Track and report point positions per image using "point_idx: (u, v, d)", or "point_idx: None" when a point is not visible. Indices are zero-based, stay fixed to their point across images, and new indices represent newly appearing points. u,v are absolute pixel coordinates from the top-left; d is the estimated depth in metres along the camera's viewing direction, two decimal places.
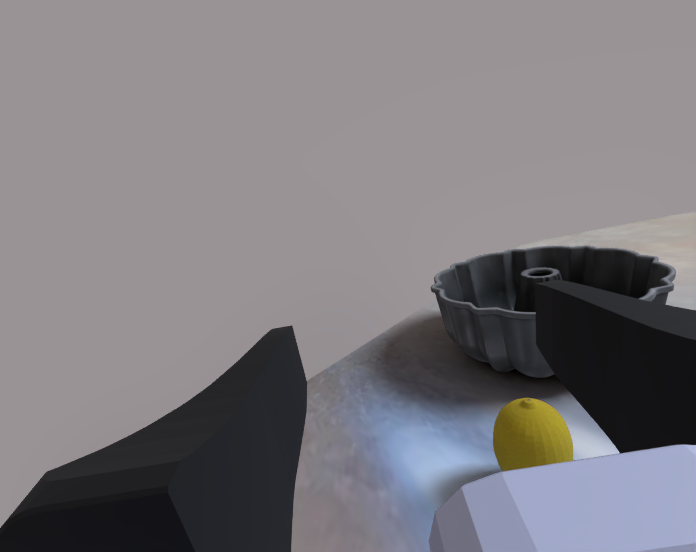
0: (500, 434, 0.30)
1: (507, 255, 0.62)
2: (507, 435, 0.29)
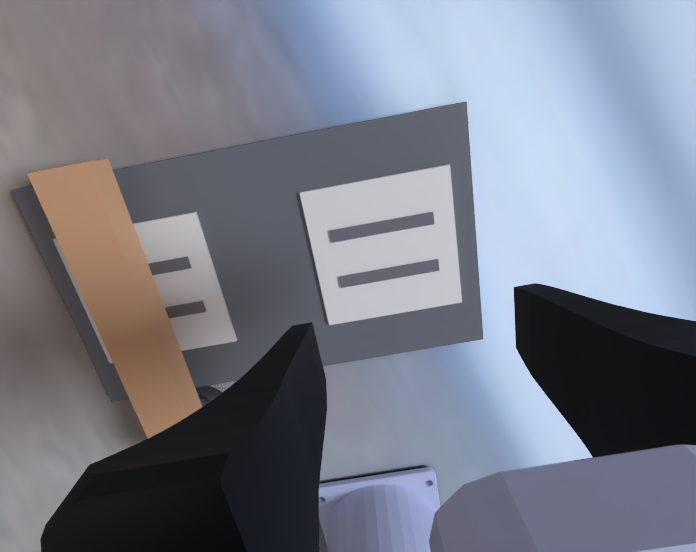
0: None
1: None
2: None
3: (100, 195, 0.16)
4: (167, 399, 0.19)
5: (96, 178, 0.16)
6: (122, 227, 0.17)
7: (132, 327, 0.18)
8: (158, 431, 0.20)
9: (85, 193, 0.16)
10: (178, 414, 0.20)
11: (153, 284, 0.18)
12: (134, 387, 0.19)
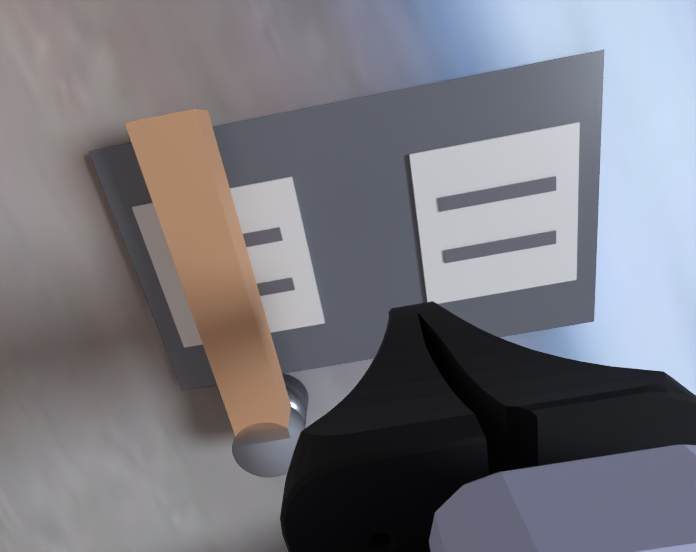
0: None
1: None
2: None
3: (205, 149, 0.14)
4: (259, 385, 0.17)
5: (201, 129, 0.14)
6: (222, 188, 0.15)
7: (227, 303, 0.16)
8: (245, 421, 0.18)
9: (188, 146, 0.14)
10: (270, 402, 0.18)
11: (247, 256, 0.17)
12: (223, 371, 0.17)
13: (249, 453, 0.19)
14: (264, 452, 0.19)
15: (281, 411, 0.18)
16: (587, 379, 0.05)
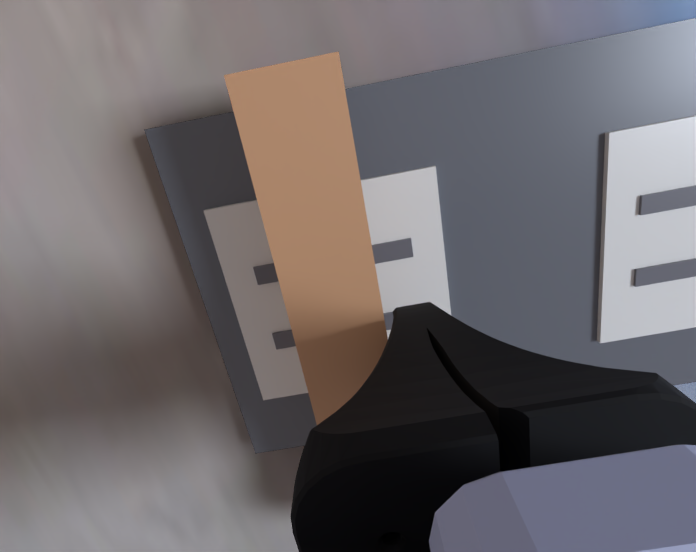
0: None
1: None
2: None
3: (347, 119, 0.09)
4: None
5: (344, 87, 0.09)
6: None
7: (355, 354, 0.11)
8: None
9: (323, 114, 0.09)
10: None
11: None
12: None
13: None
14: None
15: None
16: (580, 380, 0.05)
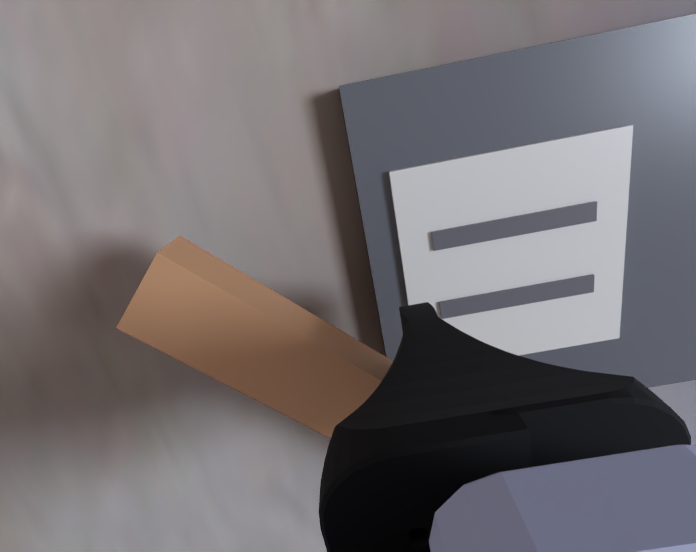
0: None
1: None
2: None
3: (207, 281, 0.10)
4: None
5: (185, 264, 0.10)
6: (263, 300, 0.11)
7: None
8: None
9: (188, 293, 0.10)
10: None
11: (352, 340, 0.12)
12: None
13: None
14: None
15: None
16: (558, 384, 0.05)
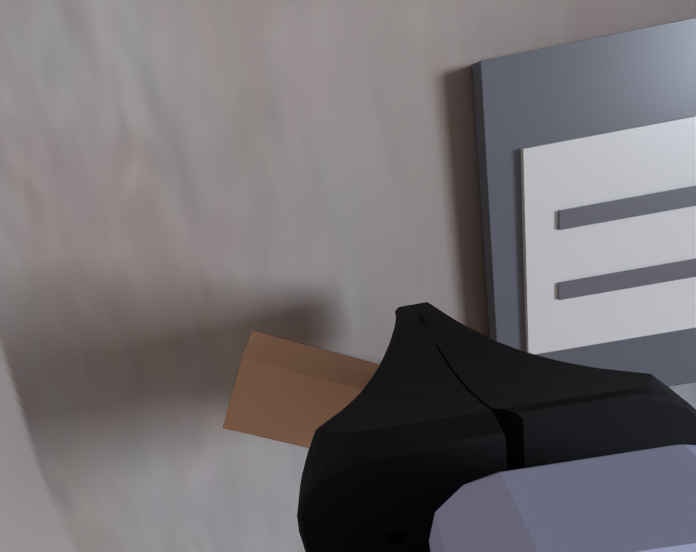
0: None
1: None
2: None
3: (289, 369, 0.11)
4: None
5: (266, 360, 0.11)
6: (340, 370, 0.12)
7: None
8: None
9: (276, 384, 0.11)
10: None
11: None
12: None
13: None
14: None
15: None
16: (575, 381, 0.05)
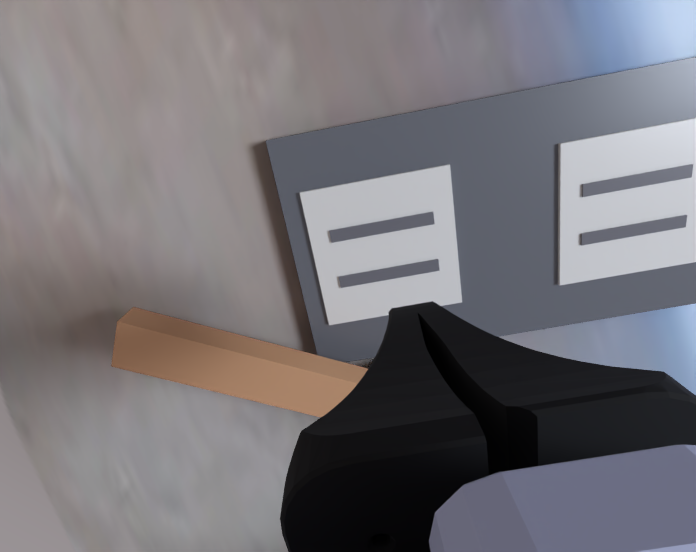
0: None
1: None
2: None
3: (148, 329, 0.18)
4: None
5: (134, 323, 0.18)
6: (185, 331, 0.19)
7: (268, 377, 0.19)
8: None
9: (140, 338, 0.18)
10: None
11: (249, 339, 0.20)
12: (324, 410, 0.20)
13: None
14: None
15: None
16: (587, 379, 0.05)
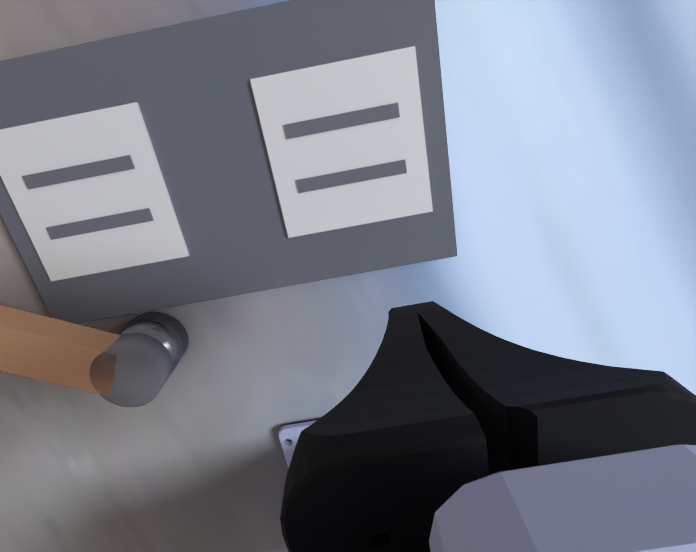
0: None
1: None
2: None
3: None
4: (47, 350, 0.18)
5: None
6: None
7: None
8: (84, 378, 0.19)
9: None
10: (68, 350, 0.18)
11: None
12: (22, 368, 0.18)
13: (122, 393, 0.19)
14: (126, 382, 0.19)
15: (82, 347, 0.18)
16: (587, 379, 0.05)
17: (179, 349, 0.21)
